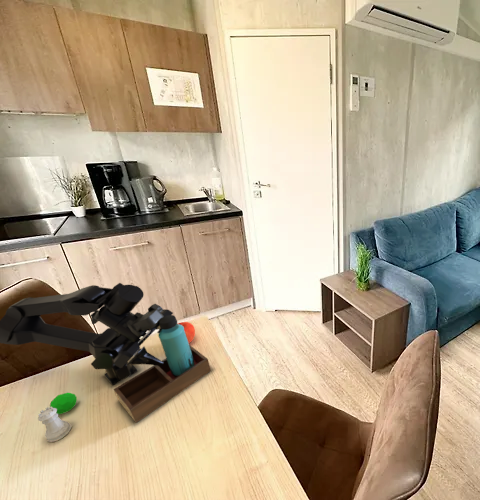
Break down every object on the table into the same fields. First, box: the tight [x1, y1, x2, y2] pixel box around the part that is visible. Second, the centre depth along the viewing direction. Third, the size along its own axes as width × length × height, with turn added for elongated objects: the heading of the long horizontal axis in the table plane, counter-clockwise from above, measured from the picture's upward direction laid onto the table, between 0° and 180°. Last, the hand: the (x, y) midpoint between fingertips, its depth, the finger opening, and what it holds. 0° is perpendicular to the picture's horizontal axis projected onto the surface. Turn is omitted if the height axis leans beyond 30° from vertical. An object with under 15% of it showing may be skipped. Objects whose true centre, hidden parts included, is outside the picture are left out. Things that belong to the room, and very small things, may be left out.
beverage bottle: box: [158, 314, 195, 376], centre depth 82 cm, size 6×7×20 cm
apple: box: [177, 321, 196, 344], centre depth 97 cm, size 8×8×8 cm
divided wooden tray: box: [113, 344, 212, 424], centre depth 81 cm, size 11×20×5 cm, turn 146°
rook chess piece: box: [37, 406, 72, 443], centre depth 68 cm, size 4×4×8 cm
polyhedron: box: [49, 392, 78, 415], centre depth 74 cm, size 5×5×5 cm
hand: (172, 352), depth 83 cm, fingers open, 9 cm apart
